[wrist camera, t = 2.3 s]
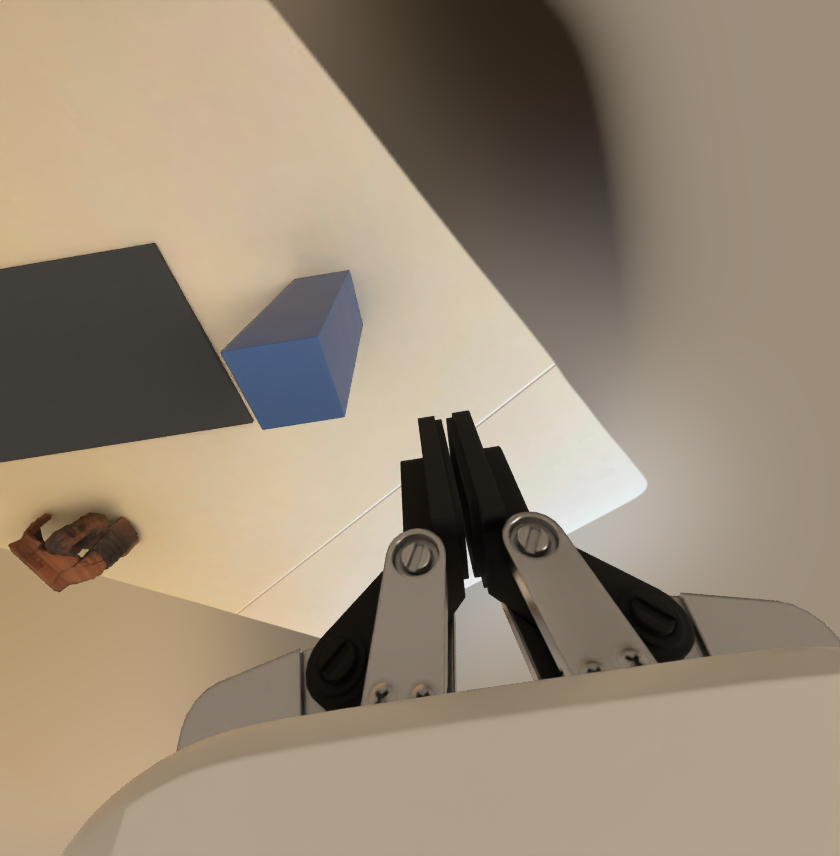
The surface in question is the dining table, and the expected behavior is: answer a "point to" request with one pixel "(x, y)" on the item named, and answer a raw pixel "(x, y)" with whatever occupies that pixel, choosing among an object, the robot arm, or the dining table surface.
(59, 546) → the brown broken pot
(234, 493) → the dining table surface
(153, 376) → the rubber mat
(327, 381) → the blue post
